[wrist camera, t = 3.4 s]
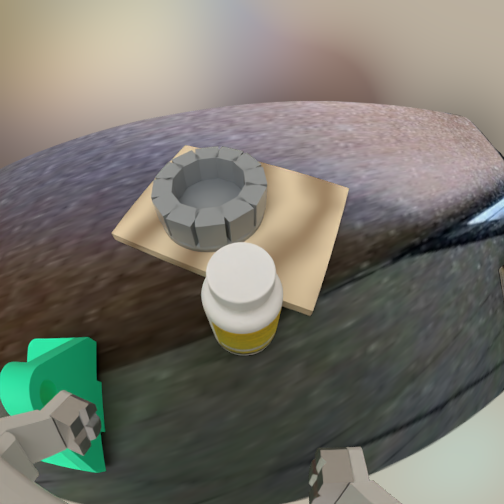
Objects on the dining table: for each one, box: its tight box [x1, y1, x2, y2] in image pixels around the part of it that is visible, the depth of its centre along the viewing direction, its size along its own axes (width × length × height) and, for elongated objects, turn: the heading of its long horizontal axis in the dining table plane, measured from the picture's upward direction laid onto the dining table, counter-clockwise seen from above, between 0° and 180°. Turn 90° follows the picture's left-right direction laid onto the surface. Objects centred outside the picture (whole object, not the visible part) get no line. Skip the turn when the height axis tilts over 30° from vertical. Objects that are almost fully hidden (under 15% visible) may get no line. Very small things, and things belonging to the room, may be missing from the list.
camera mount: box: [0, 337, 106, 473], centre depth 15 cm, size 12×8×10 cm, turn 10°
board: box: [112, 145, 349, 316], centre depth 31 cm, size 22×16×1 cm
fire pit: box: [151, 146, 267, 252], centre depth 28 cm, size 11×11×4 cm
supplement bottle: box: [201, 242, 283, 355], centre depth 20 cm, size 5×5×10 cm
